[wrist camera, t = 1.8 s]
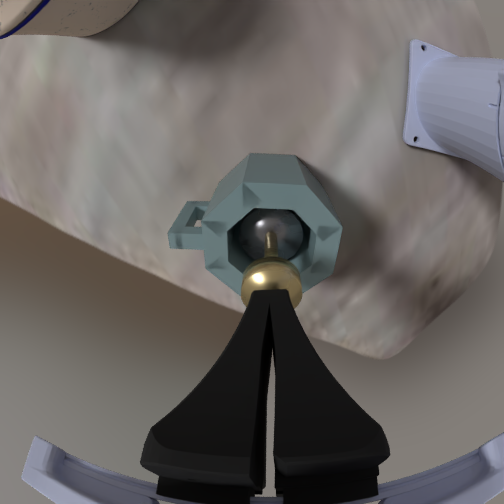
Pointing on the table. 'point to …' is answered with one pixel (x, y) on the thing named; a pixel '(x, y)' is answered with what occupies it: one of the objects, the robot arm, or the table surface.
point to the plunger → (271, 252)
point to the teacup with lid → (60, 16)
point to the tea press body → (261, 196)
